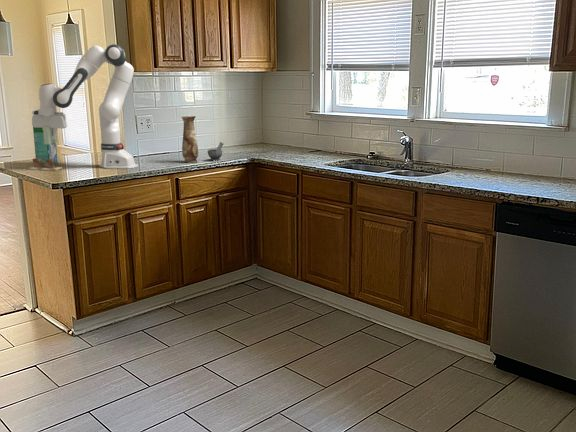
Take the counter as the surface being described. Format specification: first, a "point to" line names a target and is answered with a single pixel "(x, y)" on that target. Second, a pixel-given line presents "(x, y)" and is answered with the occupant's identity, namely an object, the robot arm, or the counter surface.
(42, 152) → the milk carton
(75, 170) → the counter surface
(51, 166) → the jig
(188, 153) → the vase
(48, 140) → the pale green flat box
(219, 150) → the mortar and pestle
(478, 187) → the counter surface
